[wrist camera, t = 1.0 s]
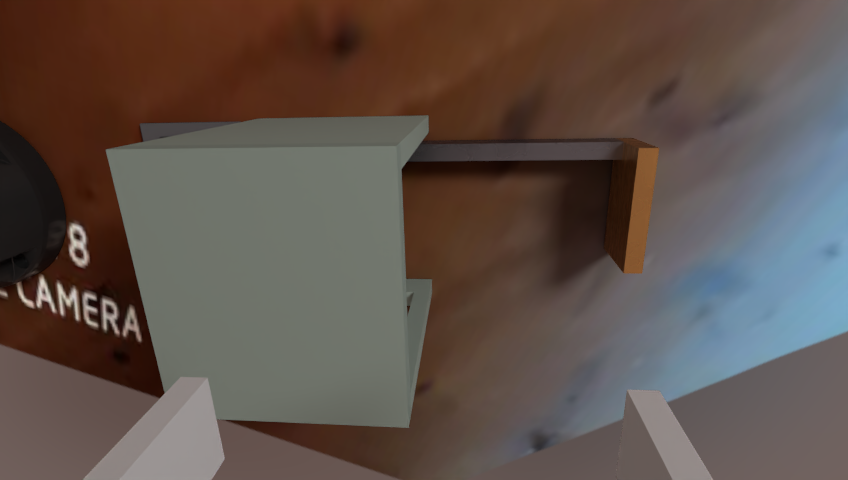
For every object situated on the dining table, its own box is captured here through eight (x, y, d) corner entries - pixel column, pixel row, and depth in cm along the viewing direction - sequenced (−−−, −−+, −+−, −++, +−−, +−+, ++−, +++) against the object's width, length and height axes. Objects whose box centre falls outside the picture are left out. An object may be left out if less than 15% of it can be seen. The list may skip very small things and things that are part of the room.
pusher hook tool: (268, 267, 40) (241, 293, 35) (250, 143, 37) (218, 152, 32) (616, 271, 37) (638, 300, 33) (632, 138, 34) (659, 147, 29)
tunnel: (282, 289, 41) (170, 417, 26) (259, 118, 36) (105, 149, 21) (431, 292, 40) (408, 427, 24) (428, 115, 35) (396, 145, 20)
